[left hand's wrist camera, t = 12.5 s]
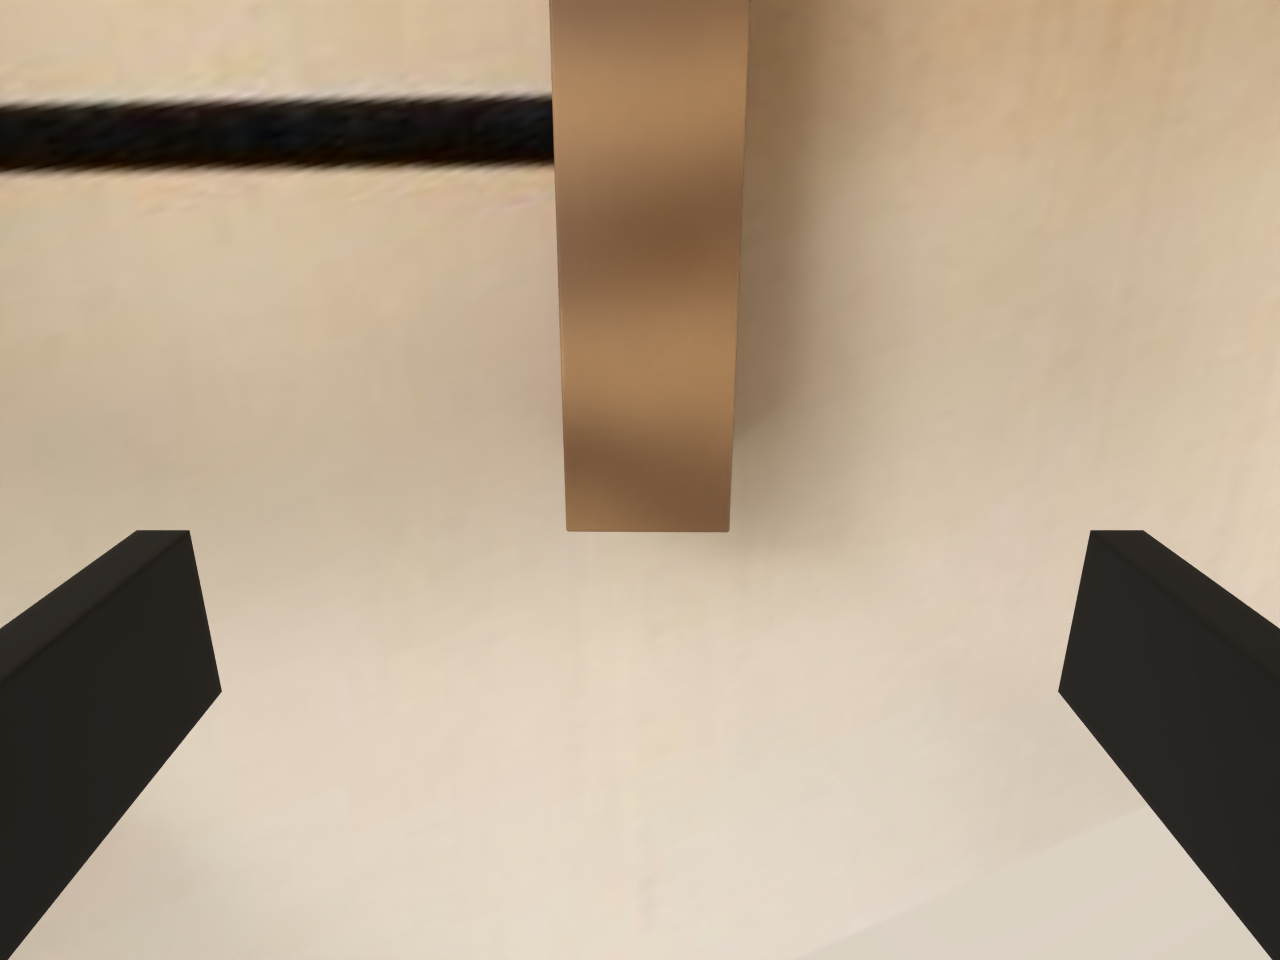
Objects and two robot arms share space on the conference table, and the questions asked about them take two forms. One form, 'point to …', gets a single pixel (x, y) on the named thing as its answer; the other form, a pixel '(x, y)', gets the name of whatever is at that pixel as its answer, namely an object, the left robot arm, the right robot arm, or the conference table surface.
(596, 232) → the beam
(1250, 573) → the conference table surface
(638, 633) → the conference table surface
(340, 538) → the conference table surface
